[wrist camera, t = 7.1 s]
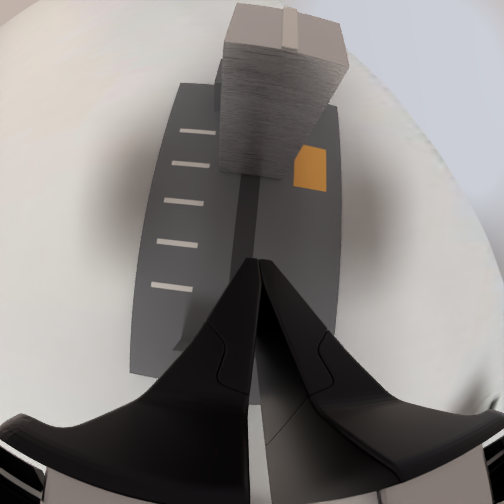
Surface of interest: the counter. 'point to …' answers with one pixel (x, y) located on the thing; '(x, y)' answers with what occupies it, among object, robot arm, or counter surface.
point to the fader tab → (275, 86)
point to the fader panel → (229, 229)
